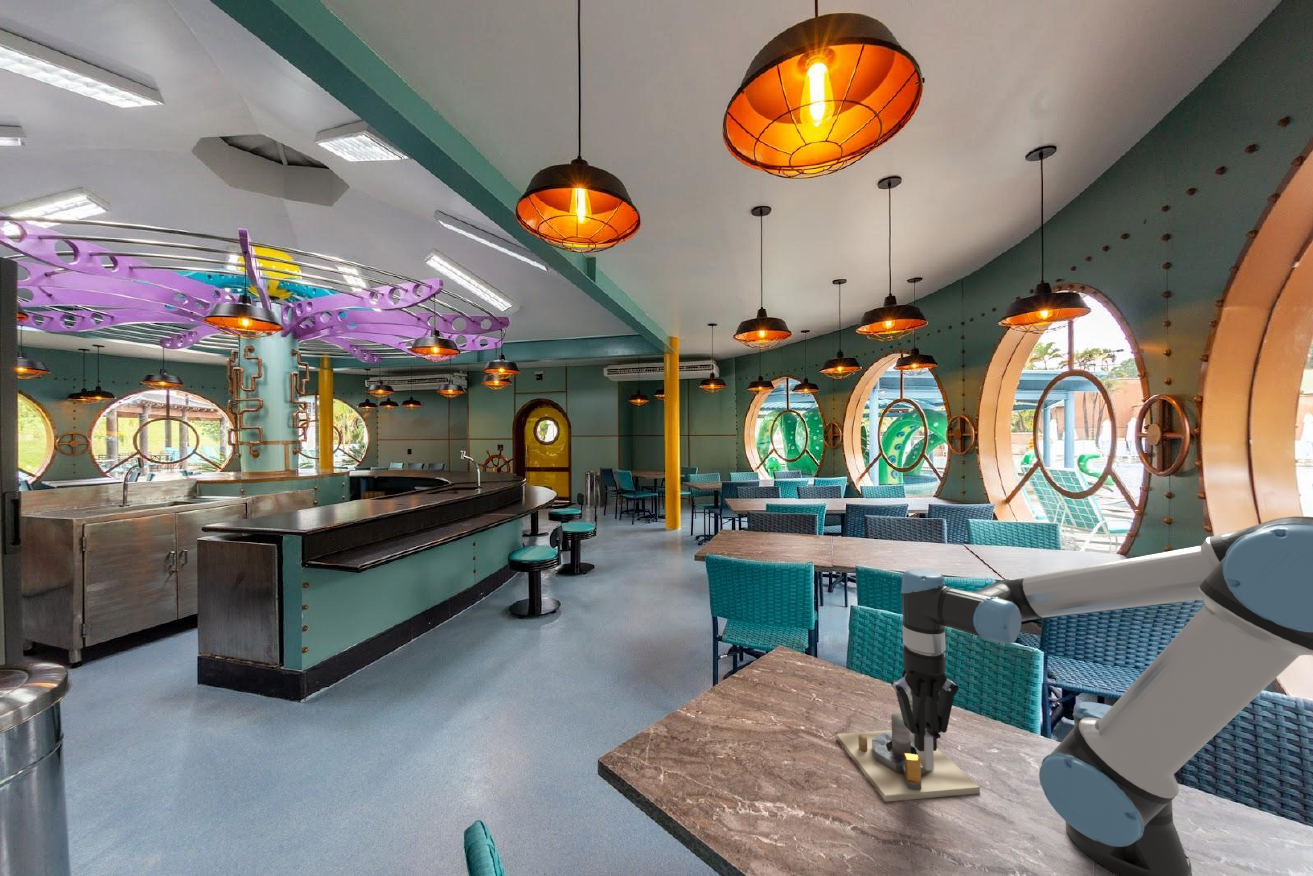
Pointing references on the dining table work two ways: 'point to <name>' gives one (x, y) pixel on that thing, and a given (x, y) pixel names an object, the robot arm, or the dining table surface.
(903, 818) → the dining table surface
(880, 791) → the post base
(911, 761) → the flange
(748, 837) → the dining table surface
